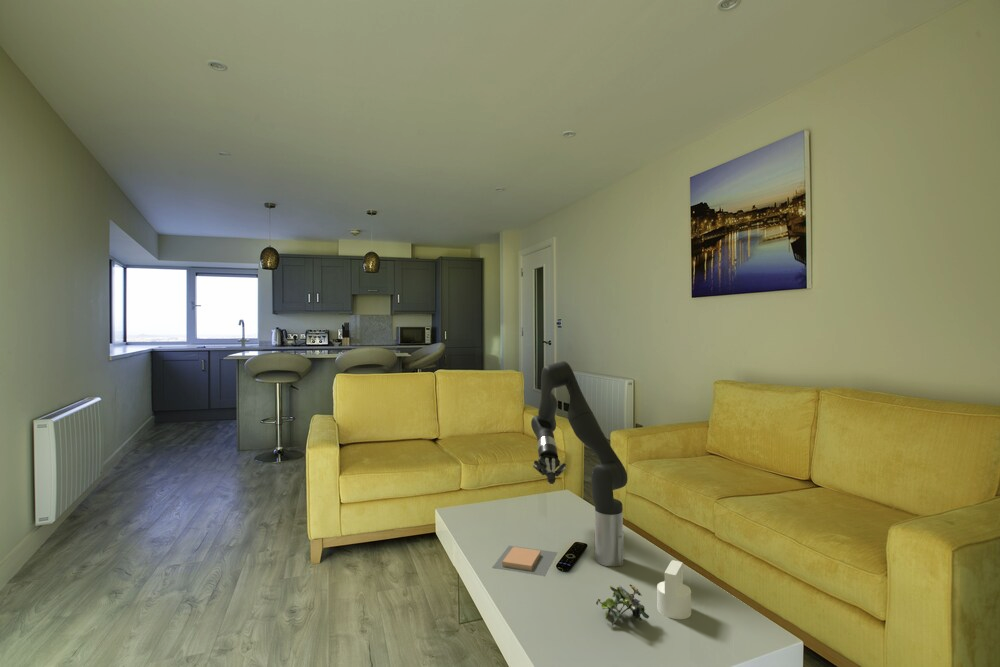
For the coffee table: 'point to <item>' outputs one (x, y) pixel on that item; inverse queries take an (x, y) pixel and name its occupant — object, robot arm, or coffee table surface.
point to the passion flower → (624, 603)
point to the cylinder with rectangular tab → (674, 593)
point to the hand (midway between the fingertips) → (551, 482)
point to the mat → (540, 566)
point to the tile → (521, 558)
